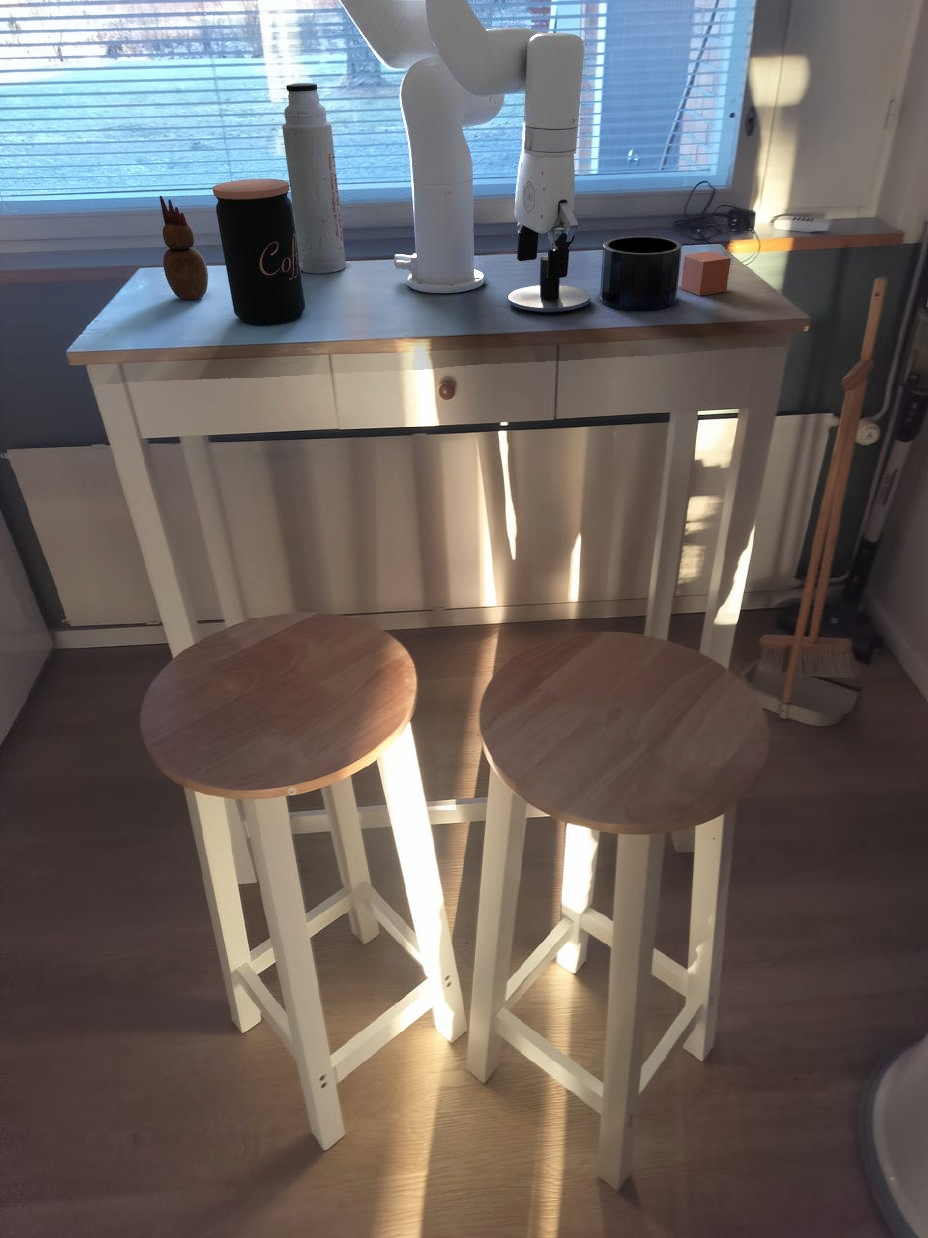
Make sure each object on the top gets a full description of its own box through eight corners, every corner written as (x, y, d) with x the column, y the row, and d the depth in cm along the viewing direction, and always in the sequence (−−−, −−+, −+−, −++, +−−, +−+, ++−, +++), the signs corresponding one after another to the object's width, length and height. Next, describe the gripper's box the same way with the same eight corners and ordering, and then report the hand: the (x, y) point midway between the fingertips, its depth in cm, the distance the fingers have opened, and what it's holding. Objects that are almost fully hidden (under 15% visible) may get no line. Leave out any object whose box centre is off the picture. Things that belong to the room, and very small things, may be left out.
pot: (593, 308, 131) (596, 252, 126) (608, 287, 139) (611, 234, 135) (669, 313, 127) (676, 256, 123) (680, 292, 136) (686, 237, 132)
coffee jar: (273, 330, 126) (252, 194, 115) (220, 320, 130) (195, 188, 120) (320, 311, 133) (305, 181, 122) (268, 302, 138) (249, 176, 127)
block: (699, 295, 134) (703, 261, 131) (680, 288, 138) (684, 254, 135) (726, 291, 136) (731, 257, 133) (706, 283, 140) (711, 250, 137)
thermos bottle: (351, 262, 157) (333, 80, 141) (337, 274, 151) (317, 84, 134) (309, 261, 158) (287, 81, 142) (294, 272, 152) (268, 85, 136)
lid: (498, 312, 130) (498, 265, 126) (520, 290, 139) (521, 246, 136) (580, 318, 127) (582, 270, 123) (597, 295, 136) (600, 250, 132)
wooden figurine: (164, 297, 141) (141, 196, 133) (194, 289, 145) (174, 190, 136) (187, 304, 138) (165, 201, 129) (218, 296, 141) (199, 195, 132)
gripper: (498, 131, 126) (494, 255, 136) (555, 152, 113) (545, 287, 123) (544, 129, 128) (537, 251, 138) (605, 149, 115) (591, 282, 126)
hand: (541, 268), depth 131 cm, fingers open, 9 cm apart
